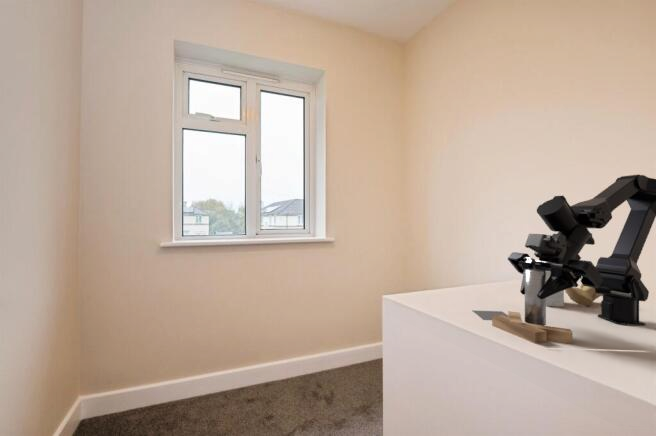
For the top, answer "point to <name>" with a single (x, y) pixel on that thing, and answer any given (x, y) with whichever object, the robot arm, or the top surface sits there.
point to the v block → (531, 329)
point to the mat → (489, 314)
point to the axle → (535, 297)
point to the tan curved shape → (583, 295)
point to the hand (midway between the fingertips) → (530, 295)
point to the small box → (555, 296)
